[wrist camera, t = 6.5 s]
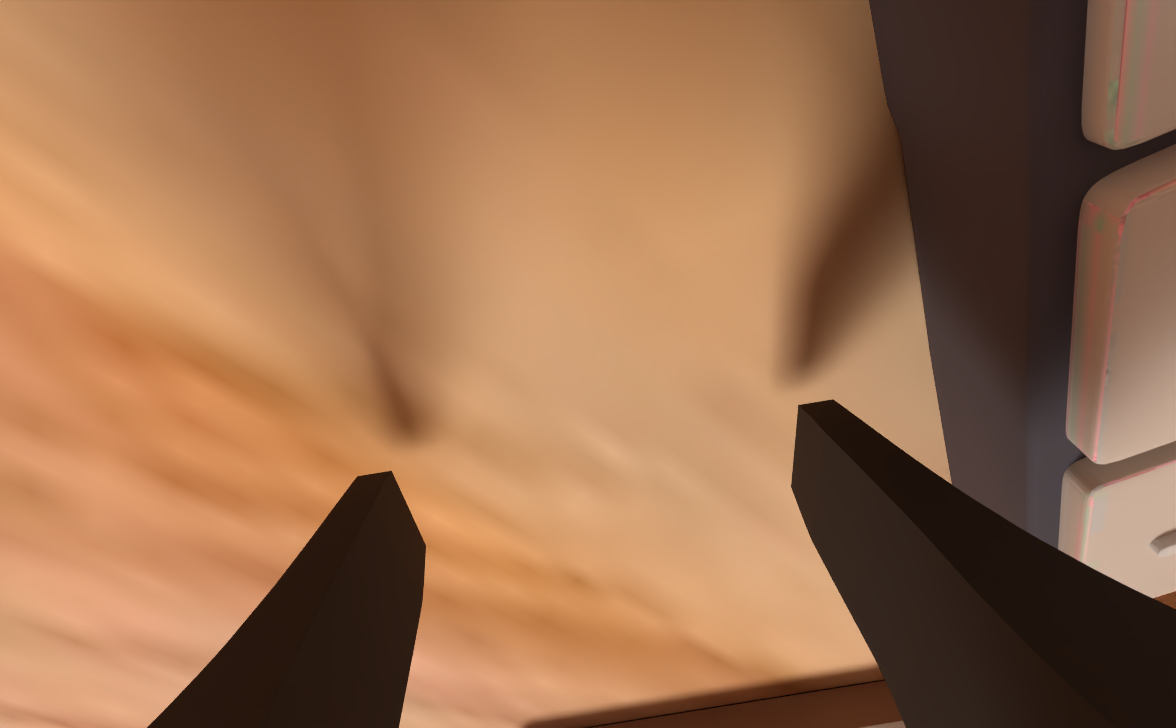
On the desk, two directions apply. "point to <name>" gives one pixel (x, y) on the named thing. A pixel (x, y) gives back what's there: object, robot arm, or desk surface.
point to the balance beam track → (793, 712)
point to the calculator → (1049, 260)
